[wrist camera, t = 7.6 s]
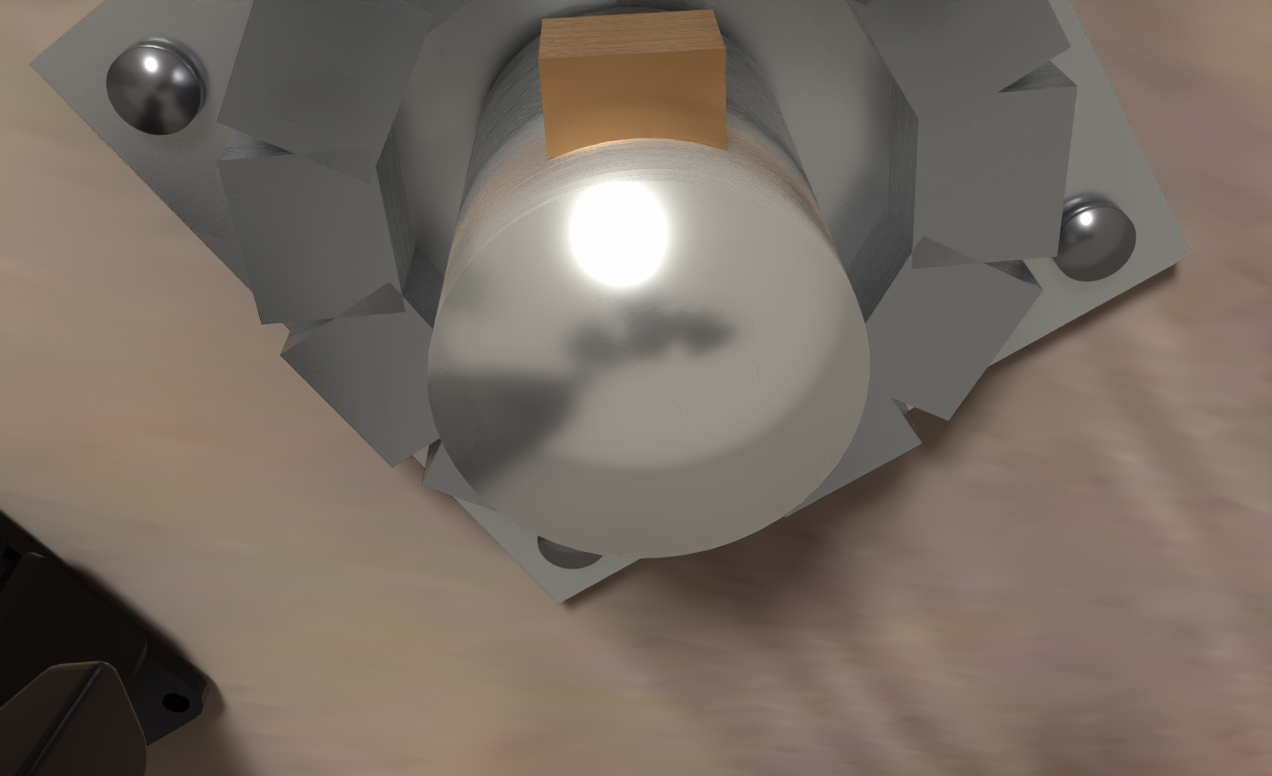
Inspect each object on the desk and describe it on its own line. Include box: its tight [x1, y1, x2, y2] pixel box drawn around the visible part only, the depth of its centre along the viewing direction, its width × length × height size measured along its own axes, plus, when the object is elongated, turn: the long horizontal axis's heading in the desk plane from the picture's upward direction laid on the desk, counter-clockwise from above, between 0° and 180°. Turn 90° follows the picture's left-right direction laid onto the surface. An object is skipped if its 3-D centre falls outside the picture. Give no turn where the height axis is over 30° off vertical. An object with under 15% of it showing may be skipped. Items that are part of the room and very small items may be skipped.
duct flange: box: [29, 0, 1192, 604], centre depth 17 cm, size 12×12×2 cm
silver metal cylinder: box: [427, 7, 870, 558], centre depth 15 cm, size 5×4×6 cm
